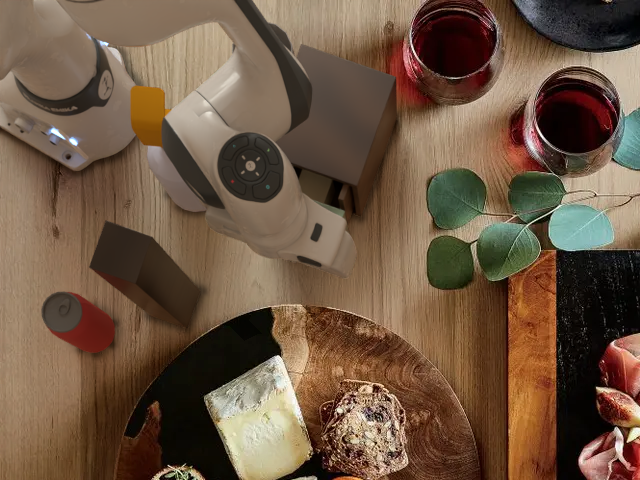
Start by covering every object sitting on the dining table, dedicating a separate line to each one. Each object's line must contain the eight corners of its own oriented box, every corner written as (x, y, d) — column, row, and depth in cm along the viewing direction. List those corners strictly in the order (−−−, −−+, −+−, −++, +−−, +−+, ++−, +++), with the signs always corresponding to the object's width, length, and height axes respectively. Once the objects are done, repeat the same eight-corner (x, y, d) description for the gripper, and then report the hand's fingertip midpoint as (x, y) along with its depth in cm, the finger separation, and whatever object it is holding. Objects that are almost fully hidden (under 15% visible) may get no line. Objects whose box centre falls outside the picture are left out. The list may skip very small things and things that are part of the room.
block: (296, 209, 120) (291, 197, 115) (306, 180, 120) (302, 167, 115) (325, 219, 120) (322, 208, 115) (335, 190, 120) (332, 178, 115)
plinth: (149, 315, 122) (88, 267, 98) (163, 277, 122) (105, 220, 98) (187, 329, 122) (135, 283, 98) (201, 291, 122) (152, 236, 98)
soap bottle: (230, 155, 122) (187, 64, 98) (224, 215, 122) (179, 141, 98) (170, 149, 122) (112, 58, 98) (164, 210, 122) (104, 134, 98)
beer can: (123, 320, 122) (93, 299, 110) (105, 361, 122) (73, 344, 110) (84, 302, 122) (49, 279, 110) (65, 342, 123) (29, 323, 111)
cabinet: (361, 217, 122) (357, 186, 110) (275, 187, 122) (262, 152, 110) (396, 118, 122) (396, 76, 110) (310, 88, 122) (301, 43, 110)
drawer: (335, 274, 121) (329, 253, 111) (256, 246, 121) (243, 223, 111) (380, 150, 121) (378, 118, 111) (300, 122, 121) (292, 88, 111)
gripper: (186, 215, 102) (212, 250, 116) (340, 271, 102) (347, 300, 116) (204, 167, 102) (227, 208, 116) (358, 223, 102) (363, 258, 116)
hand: (288, 254), depth 116 cm, fingers closed, pressing on drawer
